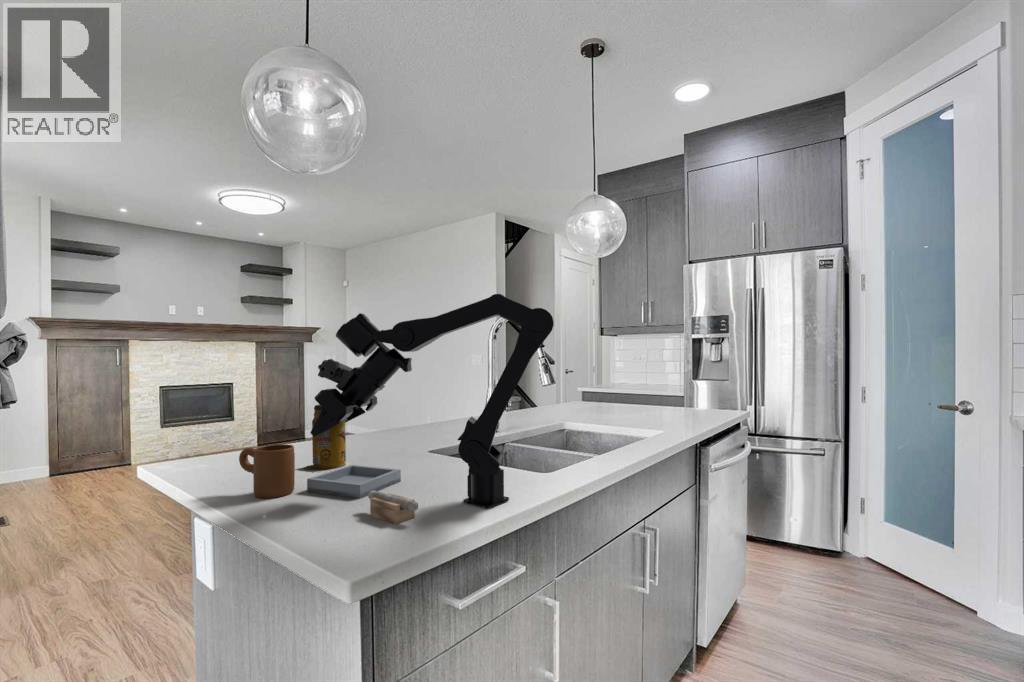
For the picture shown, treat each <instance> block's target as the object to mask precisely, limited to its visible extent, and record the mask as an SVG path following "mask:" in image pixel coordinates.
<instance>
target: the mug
mask: <svg viewBox="0 0 1024 682" xmlns="http://www.w3.org/2000/svg"><path fill="white" fill-rule="evenodd" d="M295 454H296V453H295V447H294V445H292V444H270V445H263V446H259V447H256V448H254V447H246V448H244V449H242V451H241V452H240V454H239V455H238V456H239V457H238V460H239V465H240V467H241V468H242V470H244V471H245V472H248V473H251V474H253V476H252V477H253V478H252V479H253V495H254V496H255V497H256V498H258V497H259V498H258V499H275V497H276V498H280V497H284V496H289V495H290V494H292V493H293V492H294V490H295V475H296V474H295V473H296V472H295V471H296V470H295V468H296V466H295V463H296V462H295V457H296V456H295ZM248 456H250V457H251V458H253V463H251V462H250V460H249V457H248Z"/></svg>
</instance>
